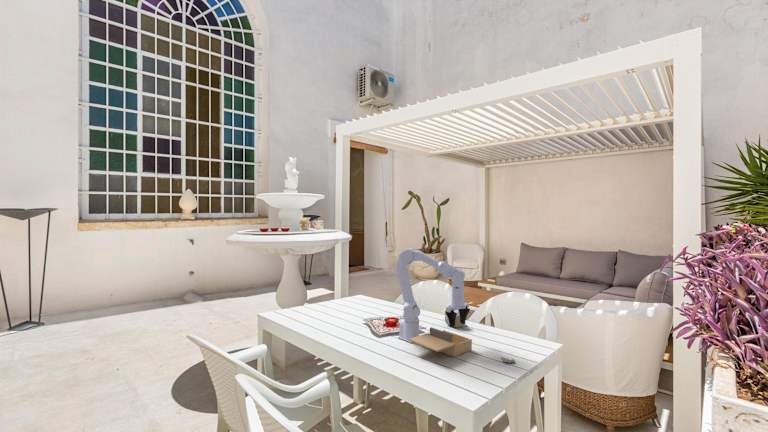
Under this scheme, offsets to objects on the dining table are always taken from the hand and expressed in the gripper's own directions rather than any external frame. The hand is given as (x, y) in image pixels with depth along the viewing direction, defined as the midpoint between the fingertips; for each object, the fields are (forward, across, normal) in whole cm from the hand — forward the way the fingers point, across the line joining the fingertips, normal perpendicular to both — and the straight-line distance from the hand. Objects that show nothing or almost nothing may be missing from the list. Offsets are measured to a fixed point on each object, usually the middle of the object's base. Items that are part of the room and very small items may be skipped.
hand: (457, 325), depth 166 cm
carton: (+9, -6, 0) cm, 11 cm away
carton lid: (+4, -18, 0) cm, 18 cm away
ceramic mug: (+10, +23, +19) cm, 31 cm away
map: (+10, +8, -20) cm, 24 cm away
